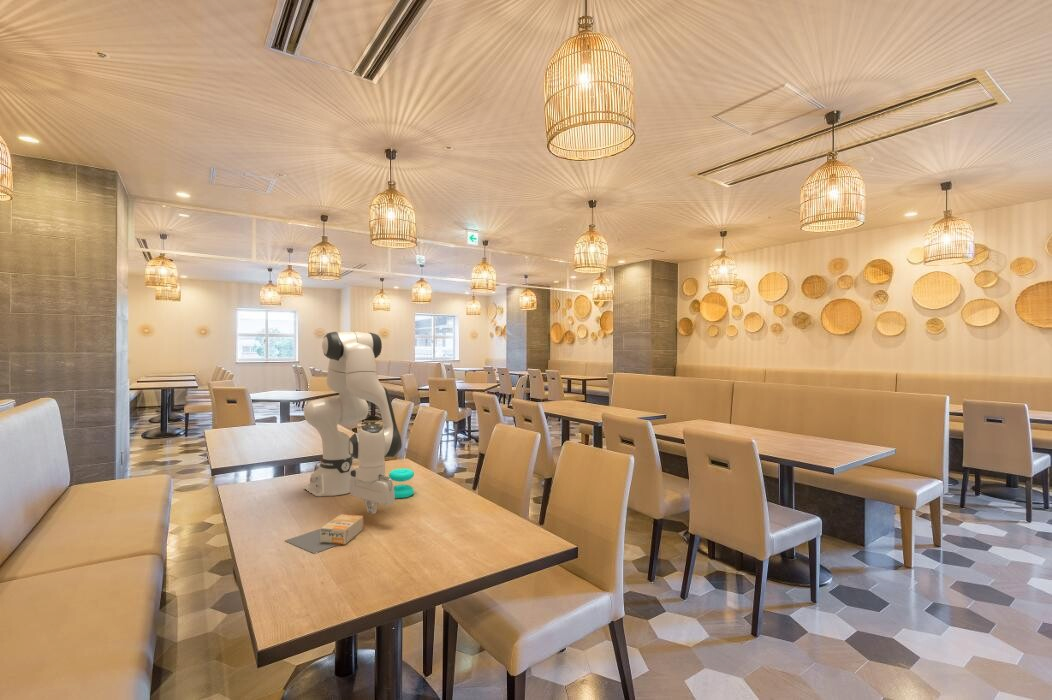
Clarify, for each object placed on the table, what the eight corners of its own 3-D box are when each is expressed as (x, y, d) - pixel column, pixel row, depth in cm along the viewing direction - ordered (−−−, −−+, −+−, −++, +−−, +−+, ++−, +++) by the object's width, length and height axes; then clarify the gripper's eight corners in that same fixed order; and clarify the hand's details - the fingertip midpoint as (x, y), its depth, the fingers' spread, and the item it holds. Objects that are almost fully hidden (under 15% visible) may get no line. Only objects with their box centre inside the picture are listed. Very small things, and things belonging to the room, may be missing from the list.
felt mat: (284, 541, 150) (284, 540, 150) (325, 527, 162) (325, 526, 162) (314, 554, 141) (314, 553, 141) (355, 538, 153) (355, 538, 153)
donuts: (395, 467, 203) (418, 468, 201) (395, 490, 204) (417, 492, 202) (384, 473, 194) (407, 474, 192) (384, 498, 194) (407, 500, 192)
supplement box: (364, 514, 161) (346, 529, 148) (363, 529, 161) (345, 545, 148) (340, 513, 161) (320, 527, 148) (339, 527, 161) (319, 543, 148)
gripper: (399, 475, 164) (399, 516, 164) (361, 466, 176) (361, 504, 176) (384, 479, 159) (384, 521, 159) (346, 470, 171) (345, 509, 171)
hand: (371, 512), depth 168 cm, fingers closed
